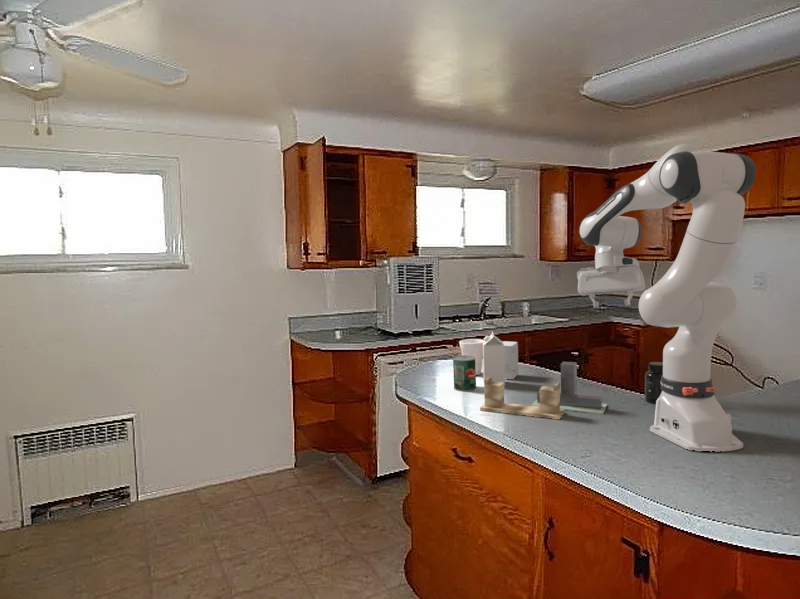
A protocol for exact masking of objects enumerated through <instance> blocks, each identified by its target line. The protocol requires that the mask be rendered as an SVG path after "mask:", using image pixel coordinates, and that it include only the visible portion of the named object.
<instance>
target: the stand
mask: <svg viewBox="0 0 800 599" xmlns="http://www.w3.org/2000/svg"><path fill="white" fill-rule="evenodd" d="M483 384H484V390H483V391H484V404H483V405H482V406H480V408H479V411H480V412H489V413H496V412H501V413H500V414H505V413H510V414H509V415H513V414H517V415H516V416H522V415H526V416H525V417H531V416H534V418H540V417H545V418H544V419H548V418H552V419H551V420H557V419H559V420H558V421H560V420H561V419H560V418H562V417H563V416H564V414H565V413H566V410H565V409H560V393H561V381H560V382H559V381H558V382H555V383H554V384H553V386H546V385H542V386H541V387H540V388H539V391H540V407H538V406H531V405H527V404H518V403H507V402H505V386H504V382H492V377H487V378H486V379H484V378H483ZM564 412H565V413H564ZM562 415H563V416H562Z"/></svg>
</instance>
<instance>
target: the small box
mask: <svg viewBox="0 0 800 599" xmlns="http://www.w3.org/2000/svg"><path fill="white" fill-rule="evenodd" d="M501 341H502V340H501ZM502 342H503V344H504V369H505V378H506V379H513V380H514V378H515V377H516V376H517V375H518V374H519V344H518V343H519V342H518V341H509V340H505V341H502ZM518 376H519V375H518ZM518 376H517V377H518ZM517 377H516V378H517Z"/></svg>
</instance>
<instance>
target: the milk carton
mask: <svg viewBox="0 0 800 599" xmlns="http://www.w3.org/2000/svg"><path fill="white" fill-rule="evenodd" d="M483 340H484V341H483V360H482V368H483V380H484V379H486V378H487V377H492V382H504V387H505V386H506V383H505V382H506V380H505V369H504V344H503V342H502V340H501V339H500V338H499V337H498V336H496V335H494V332H493V330H491V334H490V335H485V337H484V338H483Z"/></svg>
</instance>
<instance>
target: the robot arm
mask: <svg viewBox="0 0 800 599" xmlns="http://www.w3.org/2000/svg"><path fill="white" fill-rule="evenodd" d="M756 176H757V169H756V164H755V162H754V160H753V159H751V158H750V157H749V156H747V155H745V154H742V153H736V152H735V153H734V152H733V153H731V152H730V153H727V152H721V151H720V152H719V151H713V150H700V149H698V147H696V146H694V145H692V144H687V143H681V144H677V145H676V146H673V147H672V148H670V150H668V151H666V152H665V153H664V154H663V155H662V156H661V157H660V158H659V159H658V160H657V161H656V162H655V163H654V164H653V166H652V167H651V168H649V170H648V171H647V172H646V173H645V174H643V175H642V176H640V177H639V178H637V179H635V180H634V181H632V182H630V183H627V184H626V185H623V186H621V187H620V188H619V189H618V190H616V191H615V192H614V193H613V194H612V195H611V196H609V198H608V199H607V200H606V201H604V202H603V203H601V205H600V206H599V207H598V208H597V209H596V210H595V211H593V212H590V213H589V214H587V215H586V216H584V218H583V219H582V220H581V222H580V225H579V228H578V229H579V230H578V234H579V237H580V239H581V240H582V242H583V243H584V244H586V245H587V246H590V247H595V254H594V265H595V266H589V267H582V268H581V269H579V270H578V271H577V272H576V280H578V282H577V292H578V294H579V295H580V296H589V297H588V298H590V300H591V302H592V306H593V308H594V309H599V308H600V306H599V305H600V302H599V301H597V300H595V298H596V295H607V294H619V293H627V295H628V296H627V298H625V299H623V301H624V306H626V307H627V306H631V299H632V298H633V296H634V292H642V291H643V292H642V293H641V296H640V297H639V300H638V311H639V315H640V316H641V318H642V320H643V321H644V322H645V323H646V324H648V325H650V326H654V327H661V328H666V329H667V328H668V329H669V328H678V329H677V332H676V333H675V335H674V336H673V337H672V338H671V340H669V341H668V342H667V343H666V344H665V345H664V347H663V349H662V350H663V351H662V363H663V375H662V376H661V381H660V383H661V390H662V393H661V395H660V397H659V398H658V399H657V401H656V404H655V408H654V409H655V412H654V423H653V424H652V425H651V426H649V431H650V432H651V433H653V434H655V435H657V436H659V437H661V438H662V439H665V440H667V441H669V442H671V443H673V444H675V445H678V446H679V447H682V448H683V449H685V450H687V449H688V450H687V451H692V450H695V451H694V452H701V451H710V452H709V453H713V452H712V451H715V452H716V453H718V452H720V451H721V452H732V451H737V450H741V449H743V448H744V442H743V441H741V440H740V439H739V438H738V437H737V436H735V434H733V427H732V416H731V414H730V413H726V412H725V410H724V409H723V407H722V406H721V404H720V402H719V401H718V400H717V398H716V396H715V395H716V394H715V392H716V390H715V389H716V386H715V385H714V383H713V380H712V378H711V367H712V366H711V362H712V351H713V347H714V344H715V340H716V338H717V336H718V334H719V332H720V330H721V328H722V326H723V325H725V323H726V322H727V320H728V319H729V318H731V317H732V316H733V315H734V314H735V312H736V309H737V297H736V294H735V292H734V291H733V290H732V288H731V287H730V286H728V285H727V284H722V283H719V282H712V281H713V280H714V279H716V278H717V277H719V276H721V275H722V274H723V273H724V272H725V271H726V270H727V267H728V265H729V262H730V260H731V258H732V255H733V252H734V250H735V247H736V245H737V241H738V240H739V235H740V233H741V230H742V225H743V221H744V216H745V210H746V202H745V198H744V197H743V196H742V195H744V194H746V193H747V192H748V191H750V189H751V188H752V187H753V185H754V182H755V180H756ZM689 201H690V203H691V206H692V214H691V217H690V219H689V220H690V221H689V222H688V225H687V227H686V231H685V233H684V234H685V235H684V237H683V240H682V243H681V245H680V248H679V251H678V254H677V256H676V258H675V260H674V261H673V262H672V264H671V266H670V267H669V269H668V270H667V271H666V273H665V274H664V275H663V276H662V277H661V278H660V279H659V280H658V281H657V282H656V283H654V284H653V285H652V286H651V287H648V289H646V282H645V278H644V274H643V272H642V270H641V268H640V262H639V260H638V259H637V258H635V257H629V256H625V254H624V250H625V249H630V248H632V247H634V246H636V245H637V244H638V243H640V241H641V239H642V234H643V229H642V225H641V223H640V221H639V220H638V219H637V218H635V217H632V216H631V217H630V216H623V214H624V213H629V212H631V211H640V210H657V209H658V210H659V209H665V208H667V207H669V206H671V205H672V204H674V203H676V202H679V203H680V204H686V203H689ZM621 215H622V216H621ZM645 289H646V290H645ZM715 452H714V453H715Z"/></svg>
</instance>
